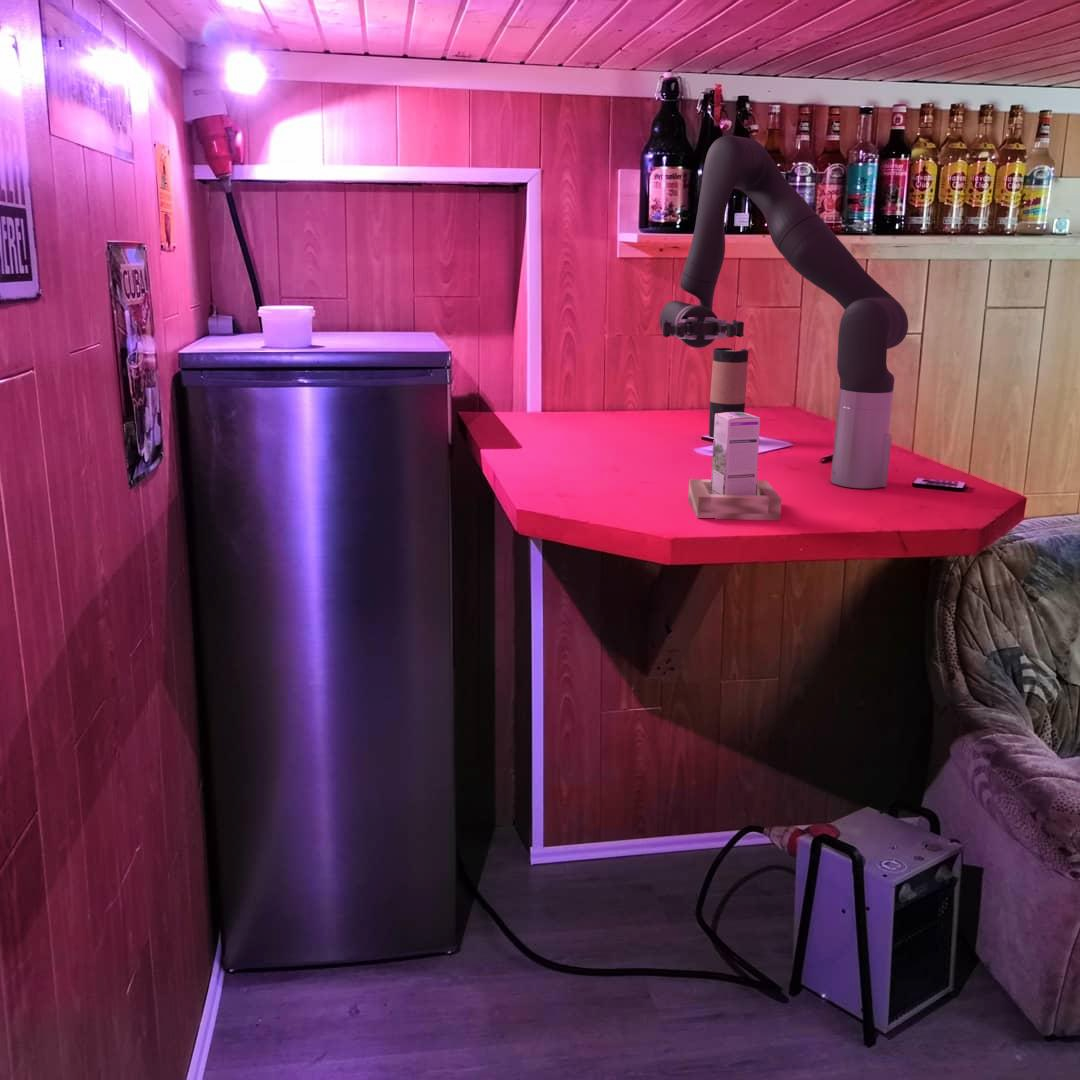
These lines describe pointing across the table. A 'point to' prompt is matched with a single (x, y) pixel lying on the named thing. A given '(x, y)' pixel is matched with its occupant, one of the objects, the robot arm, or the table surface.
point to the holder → (734, 502)
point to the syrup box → (735, 454)
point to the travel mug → (727, 383)
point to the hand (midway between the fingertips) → (707, 331)
